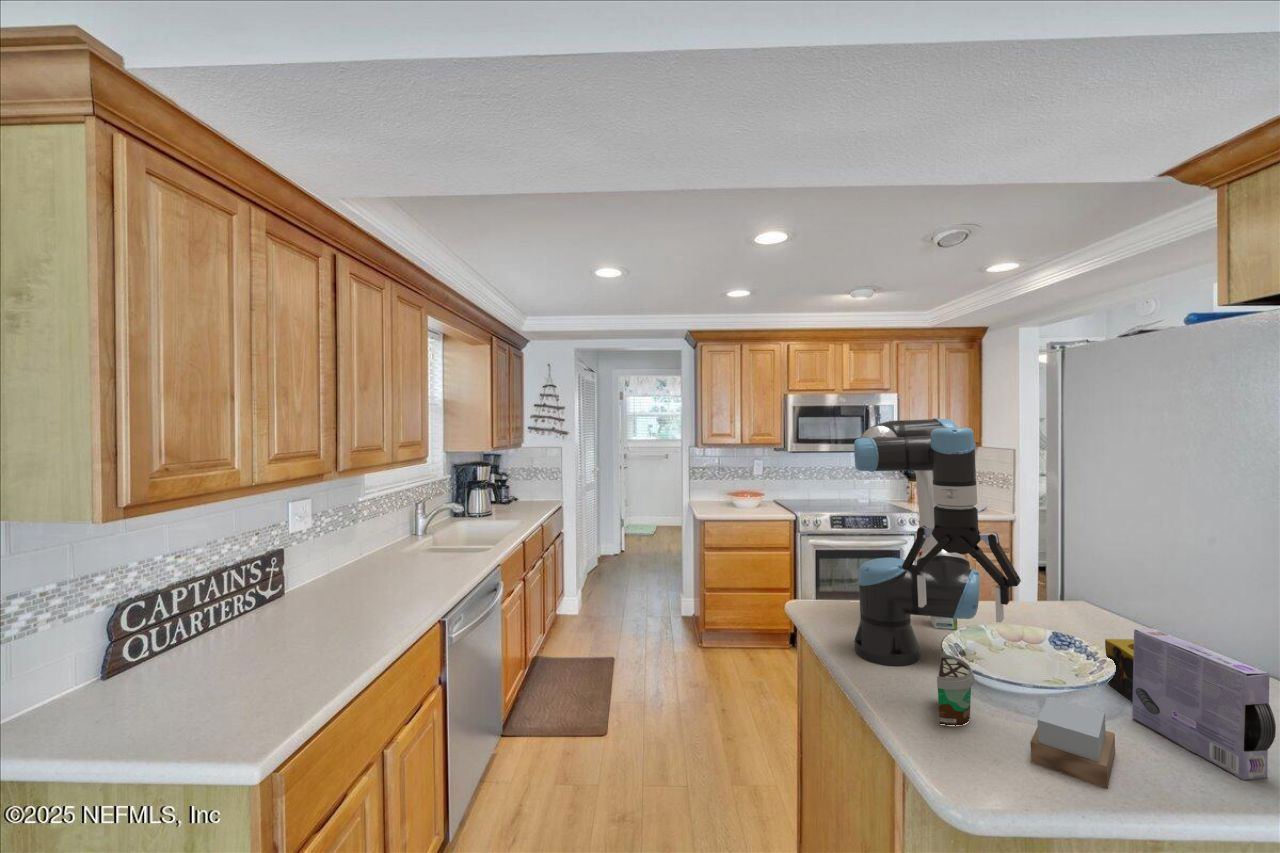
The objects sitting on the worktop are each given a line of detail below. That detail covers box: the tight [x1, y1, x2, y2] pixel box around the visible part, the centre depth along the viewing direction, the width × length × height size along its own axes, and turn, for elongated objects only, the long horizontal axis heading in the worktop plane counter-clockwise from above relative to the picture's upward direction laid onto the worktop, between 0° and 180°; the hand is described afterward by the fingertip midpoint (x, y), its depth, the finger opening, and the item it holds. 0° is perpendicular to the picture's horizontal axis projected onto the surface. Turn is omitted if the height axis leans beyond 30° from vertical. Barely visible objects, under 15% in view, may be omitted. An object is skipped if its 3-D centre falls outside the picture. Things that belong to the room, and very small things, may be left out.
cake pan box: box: [1131, 628, 1277, 781], centre depth 94 cm, size 19×5×18 cm, turn 5°
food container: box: [936, 652, 976, 726], centre depth 107 cm, size 12×6×10 cm, turn 148°
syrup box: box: [929, 616, 958, 630], centre depth 152 cm, size 6×6×14 cm
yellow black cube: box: [1104, 638, 1134, 703], centre depth 111 cm, size 10×10×10 cm
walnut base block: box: [1029, 726, 1116, 789], centre depth 93 cm, size 10×12×4 cm
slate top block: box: [1037, 696, 1107, 762], centre depth 93 cm, size 8×10×4 cm
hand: (959, 612), depth 107 cm, fingers open, 13 cm apart
